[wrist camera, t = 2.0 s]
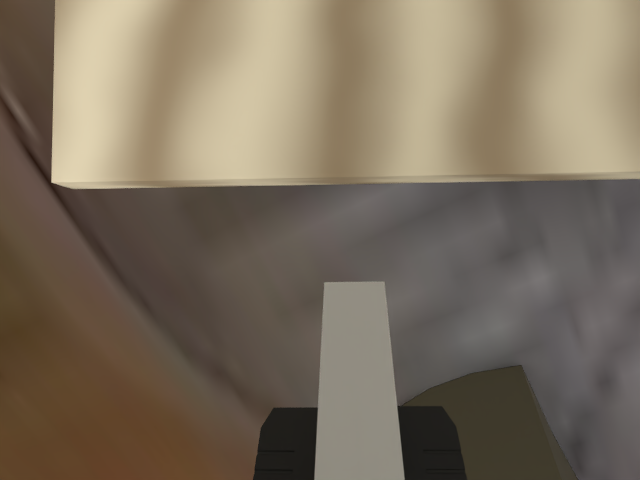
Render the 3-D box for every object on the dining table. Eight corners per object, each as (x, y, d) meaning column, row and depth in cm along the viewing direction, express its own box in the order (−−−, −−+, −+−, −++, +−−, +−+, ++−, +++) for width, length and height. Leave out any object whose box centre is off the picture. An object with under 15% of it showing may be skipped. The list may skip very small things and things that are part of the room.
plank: (658, -28, 24) (682, -52, 23) (668, 178, 24) (693, 170, 22) (76, -5, 26) (55, -25, 24) (73, 189, 25) (51, 182, 24)
